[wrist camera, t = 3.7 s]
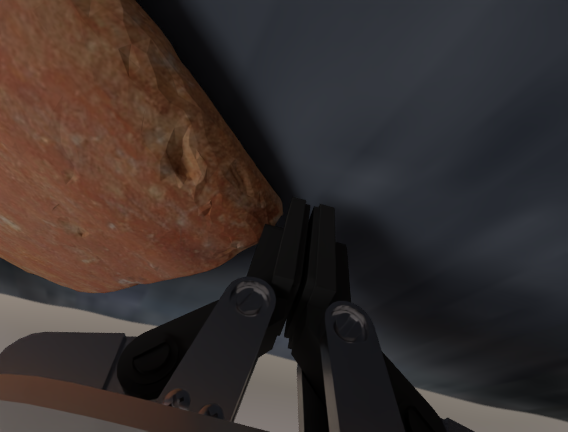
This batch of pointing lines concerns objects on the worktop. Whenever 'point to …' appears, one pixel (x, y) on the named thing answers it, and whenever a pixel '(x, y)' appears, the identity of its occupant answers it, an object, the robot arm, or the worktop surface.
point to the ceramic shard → (115, 152)
